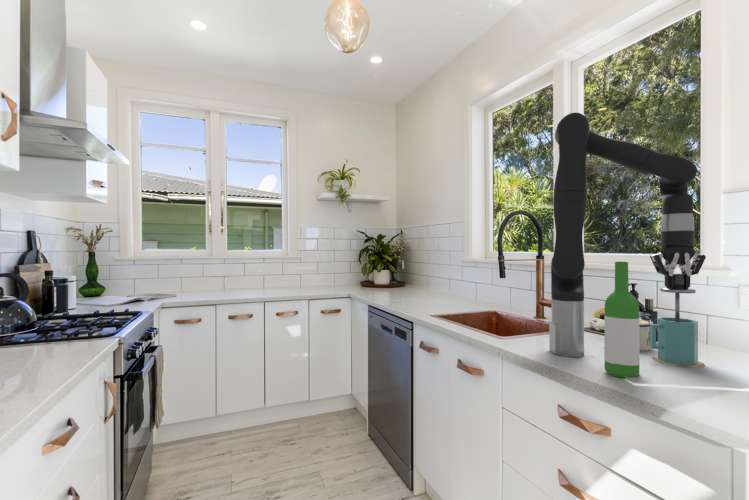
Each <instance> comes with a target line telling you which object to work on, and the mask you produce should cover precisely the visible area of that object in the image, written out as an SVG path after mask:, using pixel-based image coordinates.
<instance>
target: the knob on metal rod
mask: <svg viewBox="0 0 749 500" xmlns="http://www.w3.org/2000/svg"><path fill="white" fill-rule="evenodd" d="M673 277H674V289H667V287H659V291H660V292H662V293H672V294H674V296H675V297H674V299H675V300H674V302H675V303H674V306H675V307H674V310H675V312H674V318H675V321H673V322H680V318H681V316H680V311H681V310H680V302H681V301H680V300H681V299H680V295H681V294H696V289H693V288H688V289H685V277H684V274H681V273H674V274H673Z"/></svg>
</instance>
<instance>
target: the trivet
mask: <svg viewBox="0 0 749 500" xmlns="http://www.w3.org/2000/svg"><path fill="white" fill-rule="evenodd" d="M651 359H652V361H653V360H654V361H656V362H658V363H660V364H664V365H668V366H673V367H680V368H689V369H690V368H691V369H700V368H704V367H706V364H705V363H703V362H701V361H699V360H698V364H696V365H695V366H685V365H676V364H671V363H666V362H664V361H662V360H660V359H658V354H656V355H652V356H651Z"/></svg>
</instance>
